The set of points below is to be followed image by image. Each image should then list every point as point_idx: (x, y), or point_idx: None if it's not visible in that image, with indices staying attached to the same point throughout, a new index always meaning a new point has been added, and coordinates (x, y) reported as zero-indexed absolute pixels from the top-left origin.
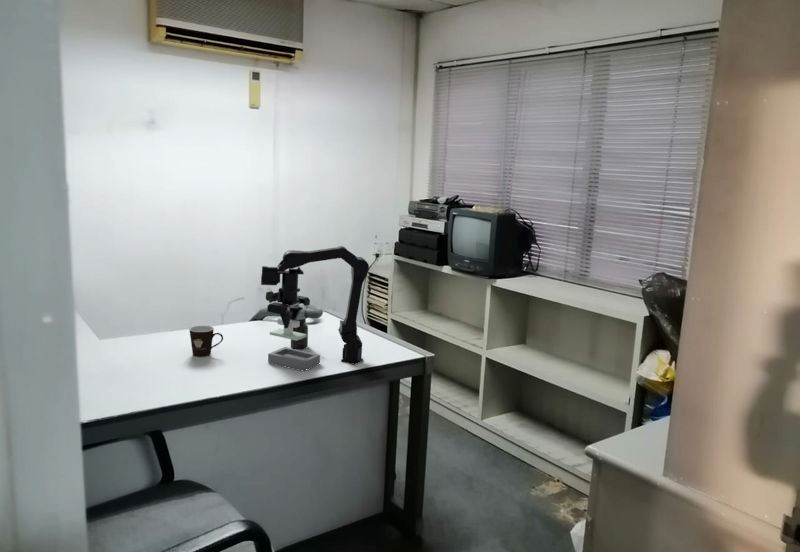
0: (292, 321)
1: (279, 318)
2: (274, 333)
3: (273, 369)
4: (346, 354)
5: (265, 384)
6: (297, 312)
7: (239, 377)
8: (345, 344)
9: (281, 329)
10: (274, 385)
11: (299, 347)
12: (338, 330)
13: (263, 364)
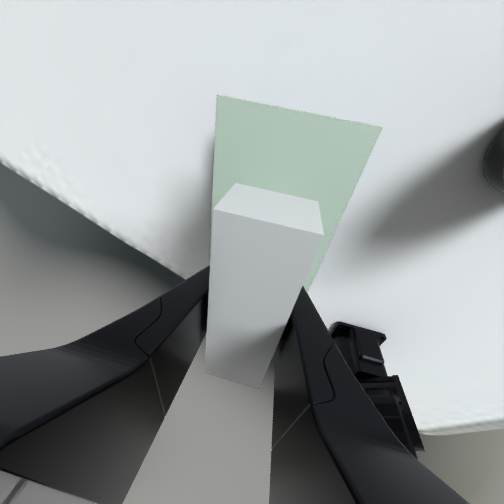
0: (217, 356)
1: (242, 227)
2: (214, 155)
3: (189, 172)
4: (339, 350)
5: (91, 204)
6: (271, 483)
7: (58, 93)
8: (364, 373)
9: (345, 162)
10: (104, 227)
11: (488, 168)
12: (387, 418)
13: (213, 103)
